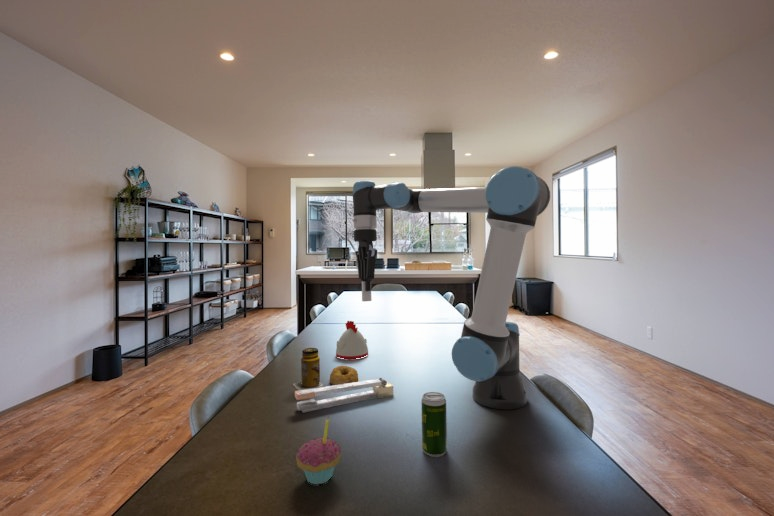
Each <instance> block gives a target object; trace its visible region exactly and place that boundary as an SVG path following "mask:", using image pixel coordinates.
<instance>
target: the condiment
mask: <svg viewBox="0 0 774 516" xmlns="http://www.w3.org/2000/svg"><path fill="white" fill-rule="evenodd" d="M301 354H302V357H301V359H300V363H301V364H300V365H301V367H300V368H301V370H300V371H301V381H300V382H296V383H292V386H293V387H295V389H296V390H297V391H299V390H305V389H314V388H320V387H325V384H324V383H322V382H321V380H320V379H321V375H320V374H321V372H320V371H321V370H320V361H321V360H320V356H319V350H318V348H317V347H307V348H304V349H303V350H302V351H301ZM319 382H320V383H319ZM301 383H302V384H301ZM320 384H321V385H320ZM319 385H320V386H319Z"/></svg>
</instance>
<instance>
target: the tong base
mask: <svg viewBox="0 0 774 516" xmlns="http://www.w3.org/2000/svg"><path fill="white" fill-rule="evenodd" d="M392 396H394V385H393V384H391V383H390V381H387V385H385V386H384V385H383V384H382V386H376V387H372V390H371V389H370V390H367V391H366V390H365V391H361V392H355V393H351V394H345V395H341V396H335V397H330V398H325V399H320V400H319V399H318V400H315V398H310V399H305V400H301V401H300V400H299V401H297V402H296V408H297V410H298V412H300V411H301V412H302V413H308V412H312V411H313V412H314V411H319V410H322V409H323V410H324V409H328V408H332V407H337V406H343V405H348V404H352V403H358V402H362V401H367V400H373V399H383V398H389V397H392Z"/></svg>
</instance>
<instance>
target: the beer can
mask: <svg viewBox="0 0 774 516" xmlns="http://www.w3.org/2000/svg"><path fill="white" fill-rule="evenodd" d="M420 404H421V443H422V444H421V447H422V448H421V449H422V452H423V453H424V454H425V455H426V454H427V455H426V456H428V455H429V456H428V457H430V456H431V458H441V457H443V456H445V455H446V452H447V450H448V437H447V436H448V435H447V434H448V431H447V430H448V429H447V428H448V427H447V426H448V425H447V424H448V423H447V421H448V420H447V400H446V396H445V394H444V393H442V392H438V391H427V392H425V393H423V394H422V398H421V402H420Z"/></svg>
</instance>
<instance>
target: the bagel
mask: <svg viewBox="0 0 774 516" xmlns="http://www.w3.org/2000/svg"><path fill="white" fill-rule="evenodd" d="M331 370H332V371H331V372H330V374H329V383H330V384H332V386H333V385H340V384H347V383H353V382H359V374H358V371H357V370H356V368H354V367H351V366H347V365H339V366H336V367H334V368H332V369H331Z"/></svg>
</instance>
